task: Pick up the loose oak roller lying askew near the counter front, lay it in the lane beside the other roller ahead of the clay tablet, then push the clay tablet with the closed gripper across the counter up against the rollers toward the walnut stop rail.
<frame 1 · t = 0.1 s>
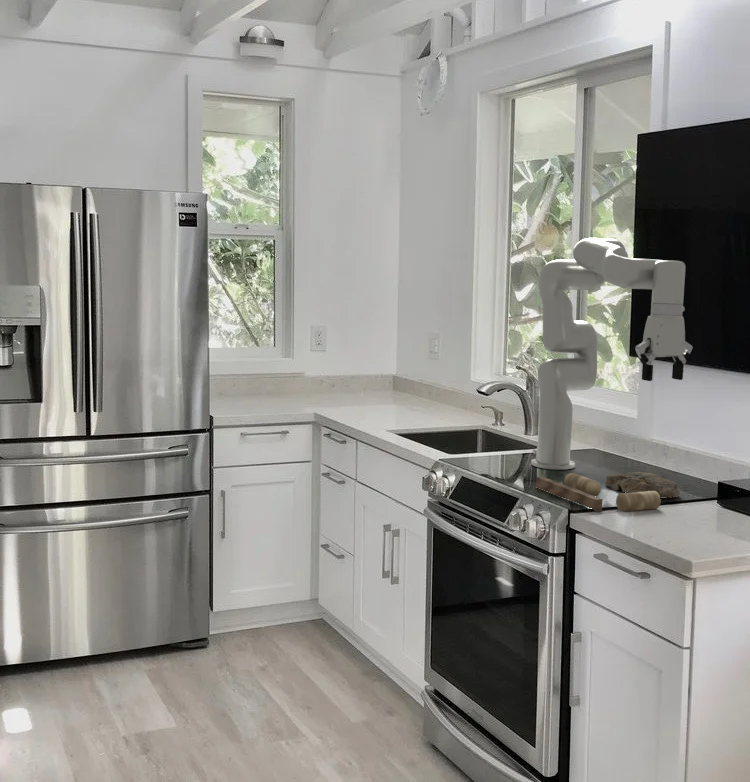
hand: (662, 379, 252), 31 cm above the worktop, tool pointing down, fingers open, 9 cm apart
stop rail: (567, 499, 256), on the worktop
roller one: (582, 485, 264), point 2 cm above the worktop
clay tablet: (646, 494, 267), on the worktop
roller two: (638, 501, 248), point 2 cm above the worktop
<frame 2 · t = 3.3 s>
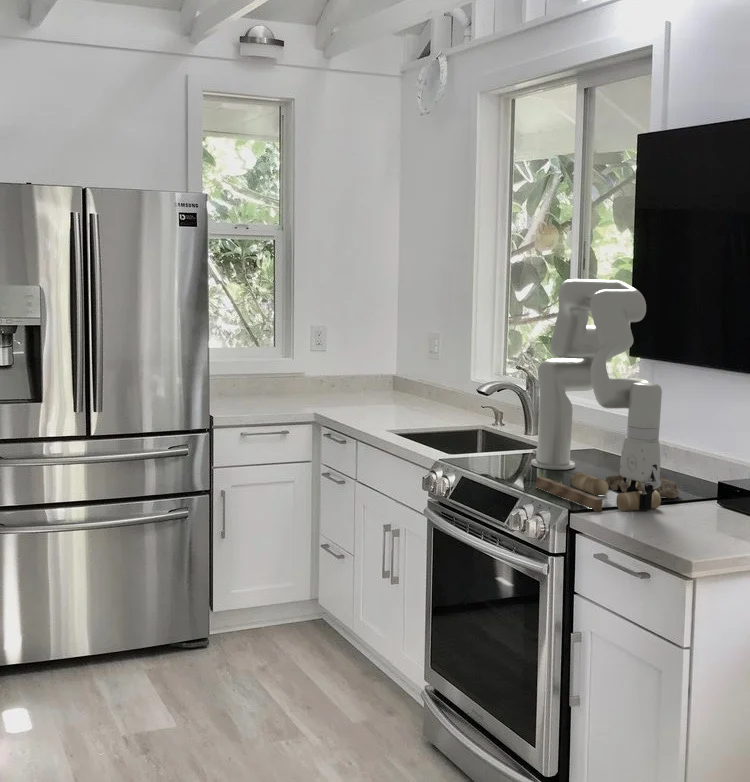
hand: (638, 506, 248), 1 cm above the worktop, tool pointing down, fingers closed on roller two, 4 cm apart
roller one: (589, 484, 265), point 2 cm above the worktop, tilted 66°
roller two: (638, 500, 248), point 2 cm above the worktop, touching gripper
everything else where it was.
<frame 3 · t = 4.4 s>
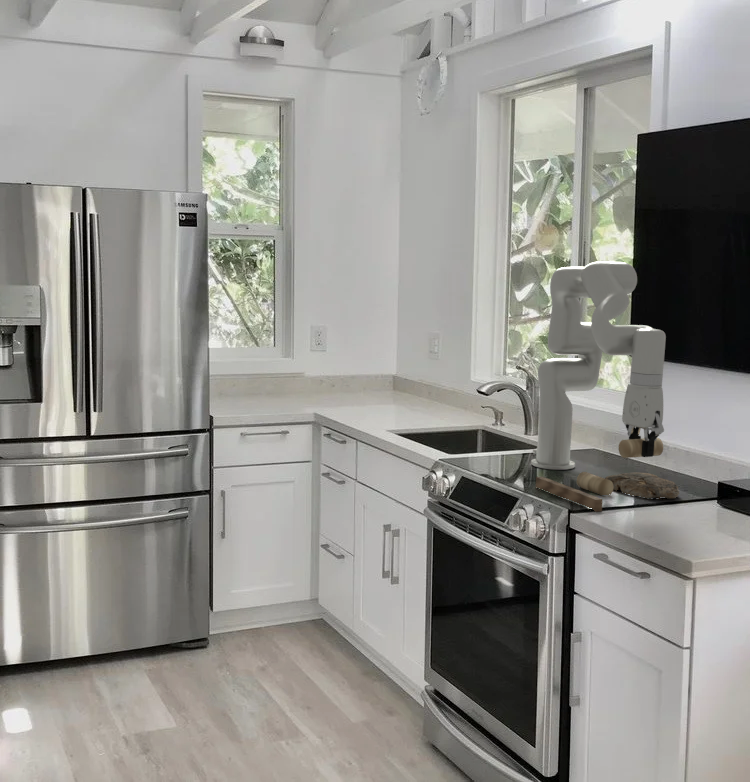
hand: (640, 453, 247), 14 cm above the worktop, tool pointing down, fingers closed on roller two, 4 cm apart
roller one: (594, 483, 266), point 2 cm above the worktop, tilted 109°
roller two: (640, 447, 247), point 15 cm above the worktop, touching gripper
everything else where it was.
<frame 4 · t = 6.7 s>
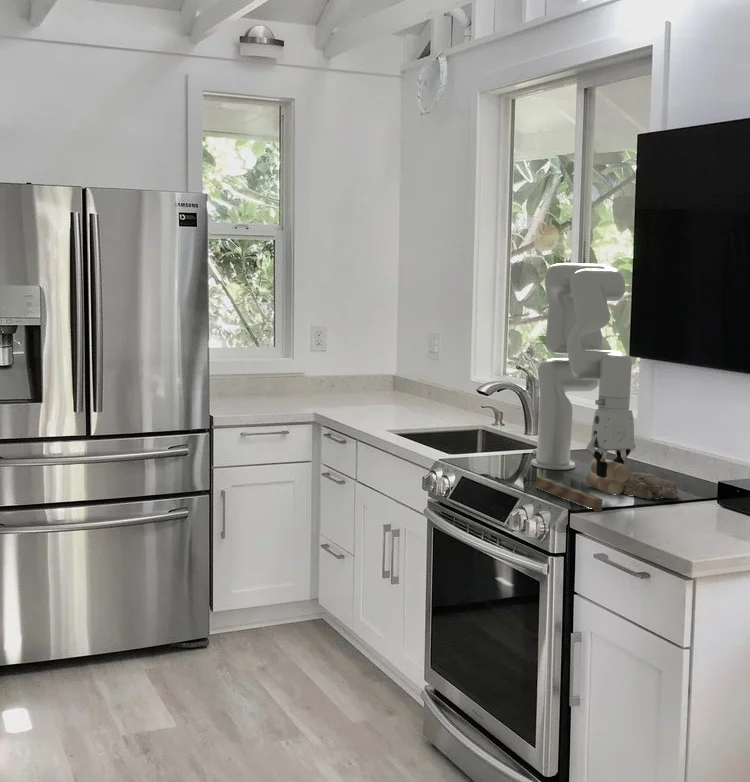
hand: (609, 475, 253), 7 cm above the worktop, tool pointing down, fingers closed on roller two, 4 cm apart
roller one: (604, 483, 267), point 2 cm above the worktop, tilted 164°
roller two: (610, 469, 253), point 8 cm above the worktop, touching gripper
everything else where it was.
when the fingers open (2 cm above the worktop, at t = 8.0 s): roller two drops 1 cm, point 2 cm above the worktop.
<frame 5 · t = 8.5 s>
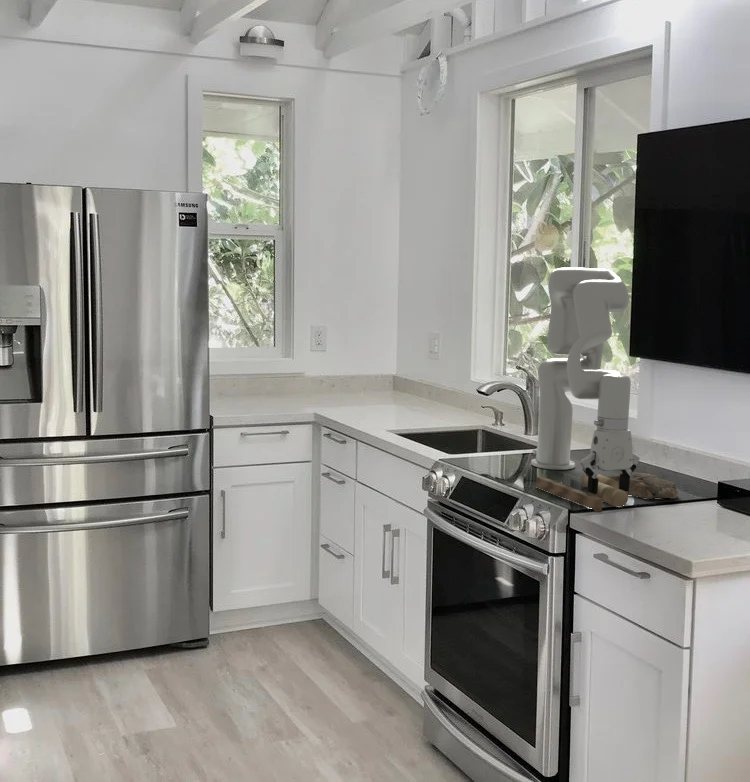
hand: (608, 491, 254), 3 cm above the worktop, tool pointing down, fingers open, 9 cm apart
roller one: (600, 483, 266), point 2 cm above the worktop, tilted 155°
roller two: (608, 494, 254), point 2 cm above the worktop
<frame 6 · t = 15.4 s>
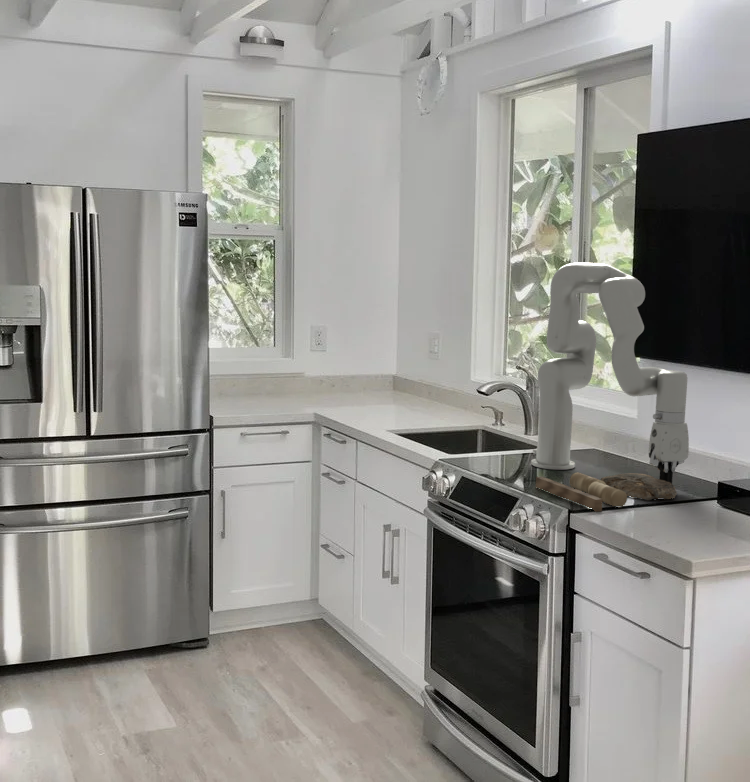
hand: (665, 485, 269), 1 cm above the worktop, tool pointing down, fingers closed
roller one: (587, 484, 265), point 2 cm above the worktop, tilted 48°
clay tablet: (642, 495, 265), on the worktop, touching gripper
everything else where it was.
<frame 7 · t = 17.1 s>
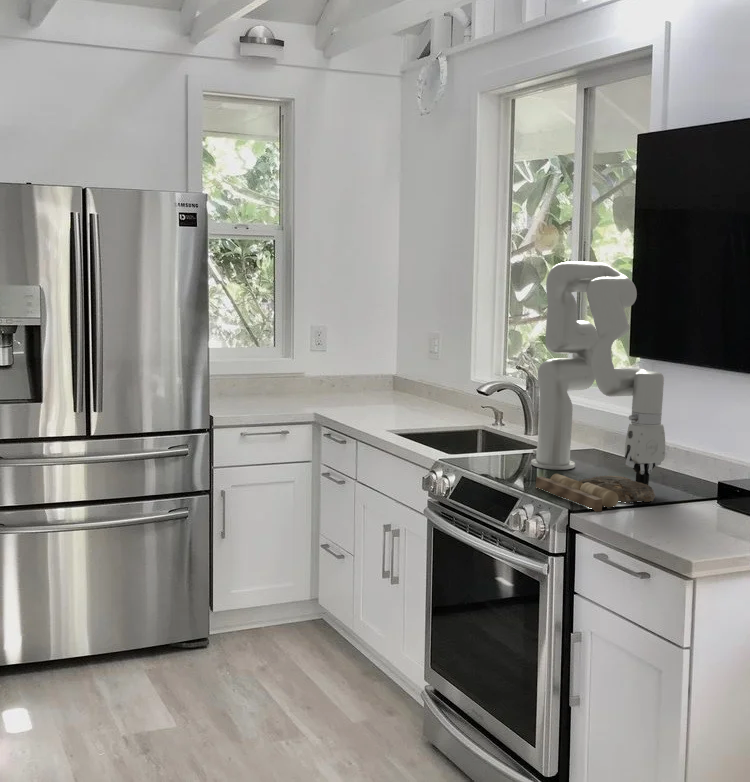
hand: (641, 487, 266), 1 cm above the worktop, tool pointing down, fingers closed
roller one: (567, 486, 262), point 2 cm above the worktop, tilted 126°
clay tablet: (619, 498, 261), on the worktop, touching gripper
roller two: (598, 495, 253), point 2 cm above the worktop, tilted 78°
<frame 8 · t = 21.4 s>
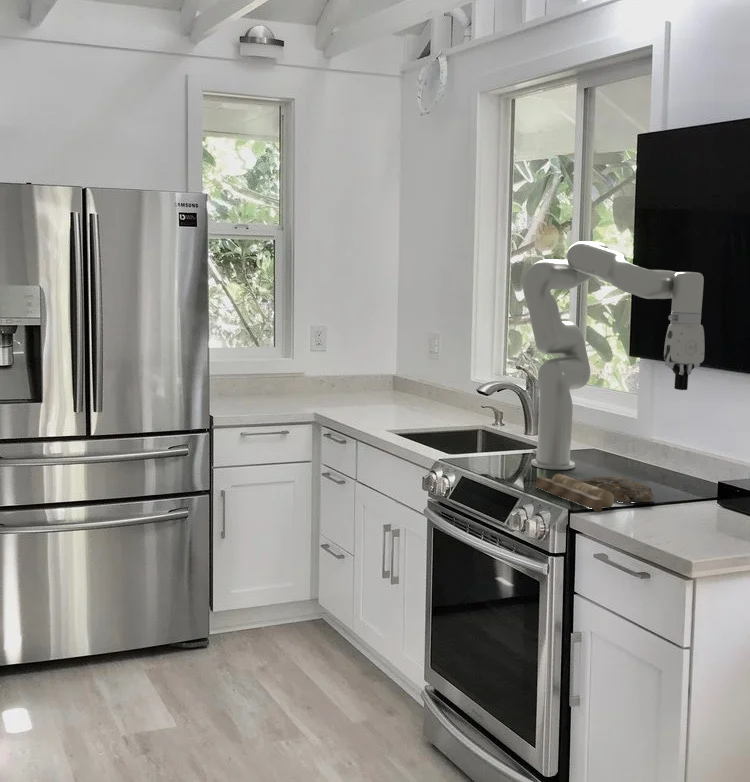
hand: (680, 389, 267), 27 cm above the worktop, tool pointing down, fingers closed
roller one: (569, 485, 262), point 2 cm above the worktop, tilted 110°
clay tablet: (618, 499, 261), on the worktop
roller two: (594, 495, 252), point 2 cm above the worktop, tilted 114°
at the end: clay tablet moved 10.7 cm from its start; clay tablet inside the target area (2.1 cm from its centre), on the worktop; roller two inside the target area (2.9 cm from its centre), point 2.0 cm above the worktop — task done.
